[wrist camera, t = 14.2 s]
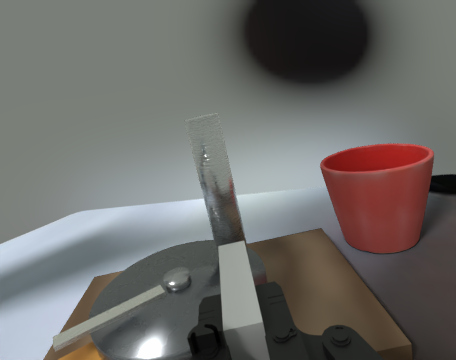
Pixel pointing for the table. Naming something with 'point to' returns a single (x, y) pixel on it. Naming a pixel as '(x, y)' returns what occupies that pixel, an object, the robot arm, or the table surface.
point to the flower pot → (380, 194)
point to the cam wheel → (171, 272)
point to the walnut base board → (290, 296)
